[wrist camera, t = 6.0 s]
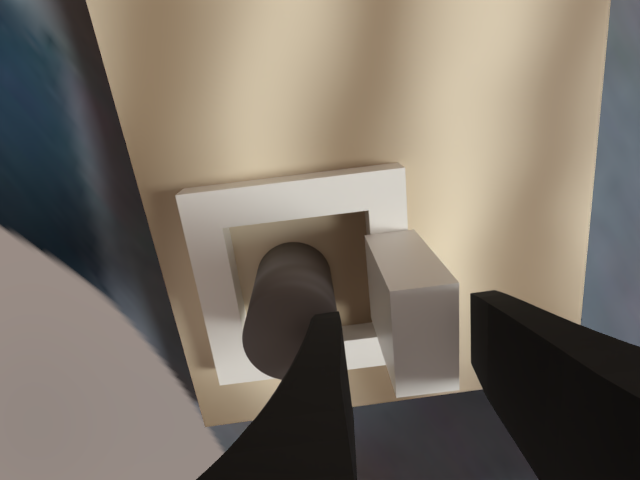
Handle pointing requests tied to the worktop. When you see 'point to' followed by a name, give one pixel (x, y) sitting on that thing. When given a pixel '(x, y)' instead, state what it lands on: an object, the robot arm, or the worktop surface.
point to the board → (361, 153)
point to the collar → (382, 268)
